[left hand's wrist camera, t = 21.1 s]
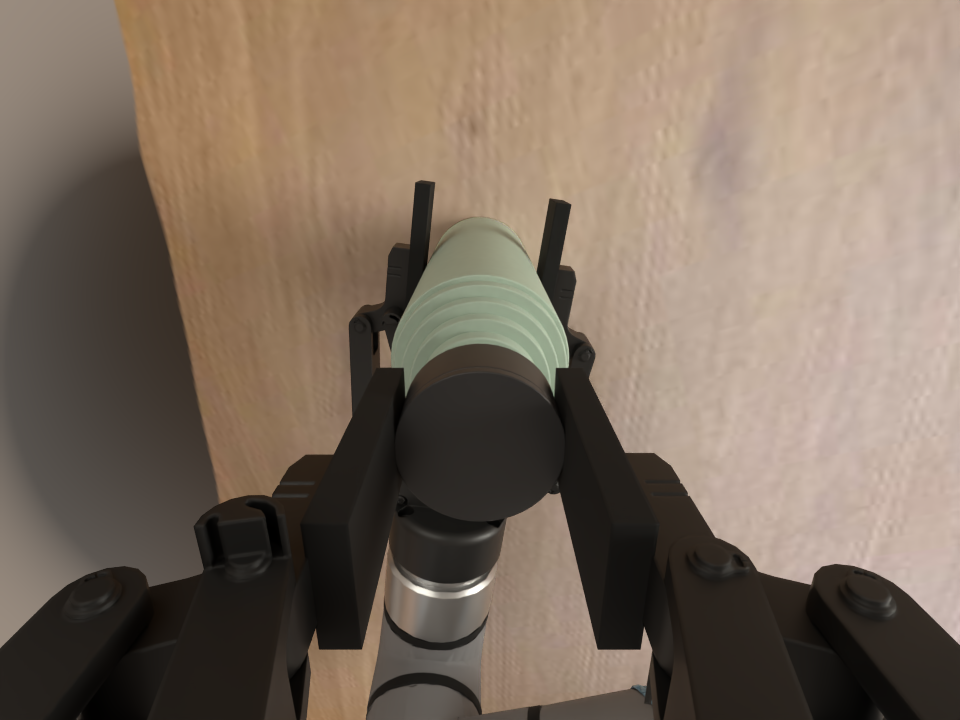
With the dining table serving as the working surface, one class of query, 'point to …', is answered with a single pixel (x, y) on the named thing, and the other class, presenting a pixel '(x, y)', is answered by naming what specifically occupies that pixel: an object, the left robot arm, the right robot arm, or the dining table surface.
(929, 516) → the dining table surface
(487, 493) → the cap
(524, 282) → the bottle
